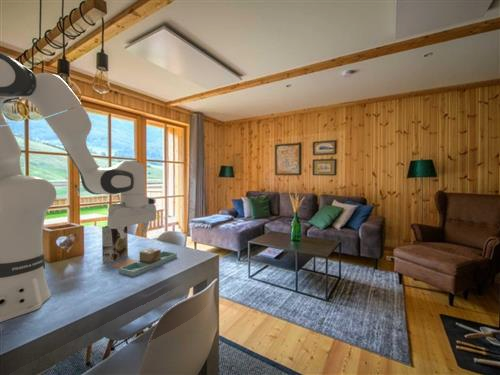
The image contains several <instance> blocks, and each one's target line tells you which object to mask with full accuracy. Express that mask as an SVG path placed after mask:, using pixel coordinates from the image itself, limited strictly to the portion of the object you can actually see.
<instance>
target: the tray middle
mask: <svg viewBox="0 0 500 375" xmlns="http://www.w3.org/2000/svg"><path fill="white" fill-rule="evenodd" d="M137 262H140V259H139V260H138V261H137ZM140 263H142V262H140ZM144 264H147V263H144ZM162 264H165V263H164V258H161V260H158V261H156V262H154V263H151V264H149V265H150V270H151V269H154V268H156V267H158V266H160V265H162Z"/></svg>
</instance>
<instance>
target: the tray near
mask: <svg viewBox="0 0 500 375" xmlns="http://www.w3.org/2000/svg"><path fill="white" fill-rule="evenodd" d="M149 270H151V269H150V265H149V264H144V263H140V262H134V263H131V264H129V265H126V266H124V267H121V268H118V273H119V274H121V275H125V276H128V277H133V278H134V277H137V276H138V275H141V274H143V273H145V272H148V271H149Z"/></svg>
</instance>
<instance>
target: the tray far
mask: <svg viewBox="0 0 500 375" xmlns="http://www.w3.org/2000/svg"><path fill="white" fill-rule="evenodd" d="M161 258H164V263H163V264H165V263H167V262H169V261H172V260H174V259H177V258H178V256H177V252H172V251H165V250H162V251H161Z"/></svg>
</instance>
